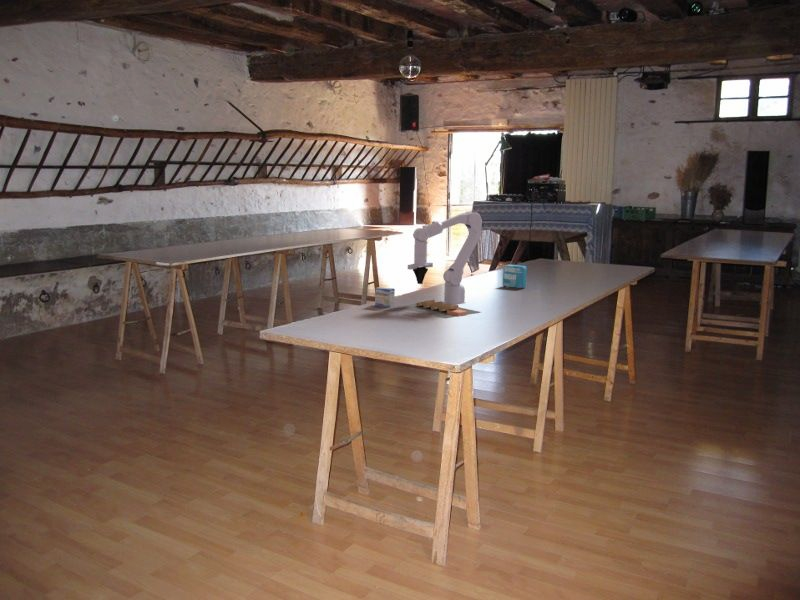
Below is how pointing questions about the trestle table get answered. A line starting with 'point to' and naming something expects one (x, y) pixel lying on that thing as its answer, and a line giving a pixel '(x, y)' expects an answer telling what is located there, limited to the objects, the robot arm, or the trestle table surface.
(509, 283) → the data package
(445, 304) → the domino
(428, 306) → the domino
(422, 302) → the domino
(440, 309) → the domino
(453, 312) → the domino
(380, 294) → the medicine box
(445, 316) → the mat
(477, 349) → the trestle table surface
